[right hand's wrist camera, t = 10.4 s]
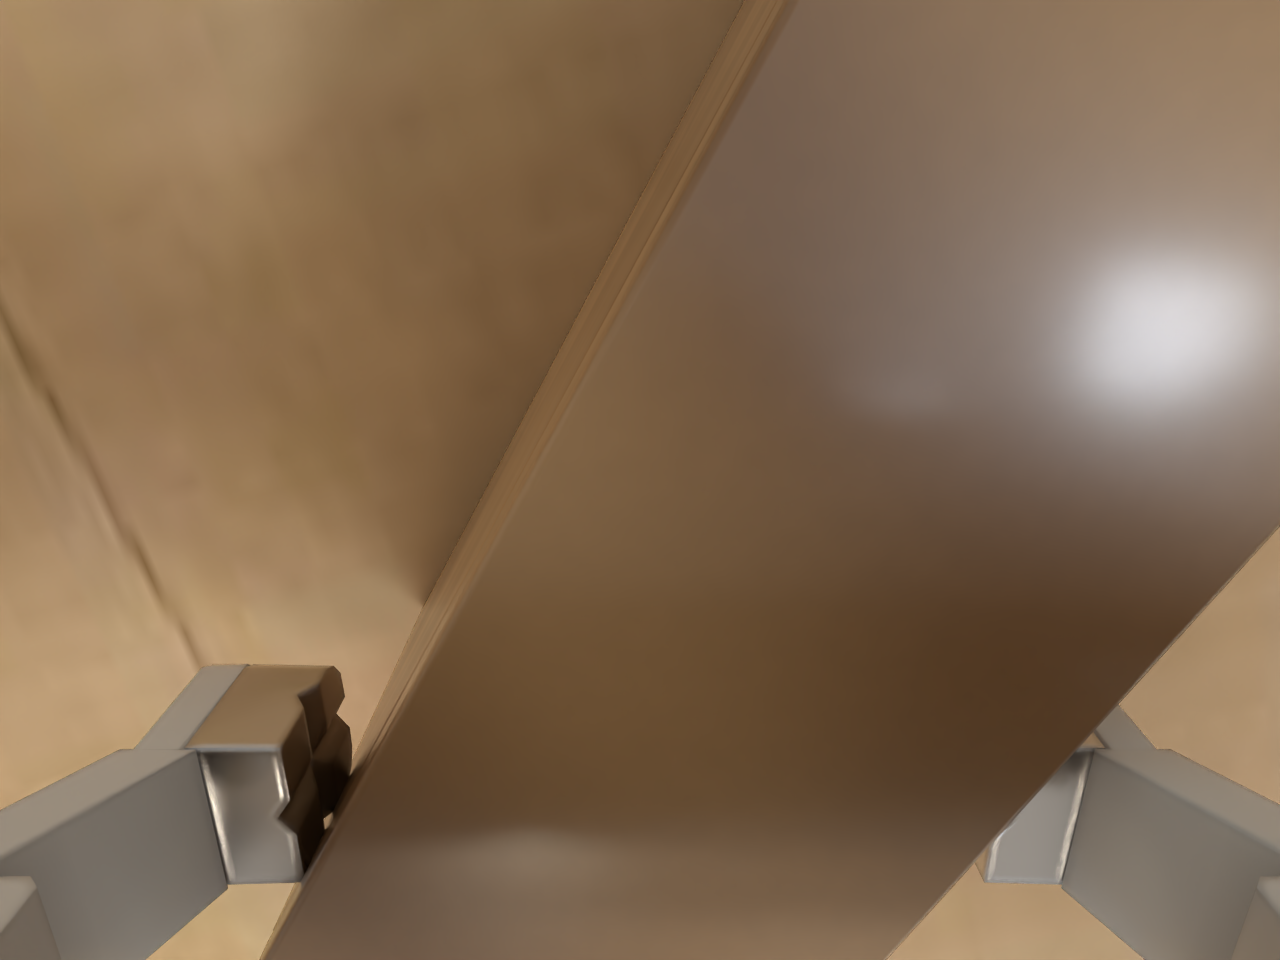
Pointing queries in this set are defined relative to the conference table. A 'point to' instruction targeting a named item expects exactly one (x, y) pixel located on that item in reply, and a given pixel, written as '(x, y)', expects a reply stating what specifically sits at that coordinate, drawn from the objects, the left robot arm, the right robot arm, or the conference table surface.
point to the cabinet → (840, 493)
